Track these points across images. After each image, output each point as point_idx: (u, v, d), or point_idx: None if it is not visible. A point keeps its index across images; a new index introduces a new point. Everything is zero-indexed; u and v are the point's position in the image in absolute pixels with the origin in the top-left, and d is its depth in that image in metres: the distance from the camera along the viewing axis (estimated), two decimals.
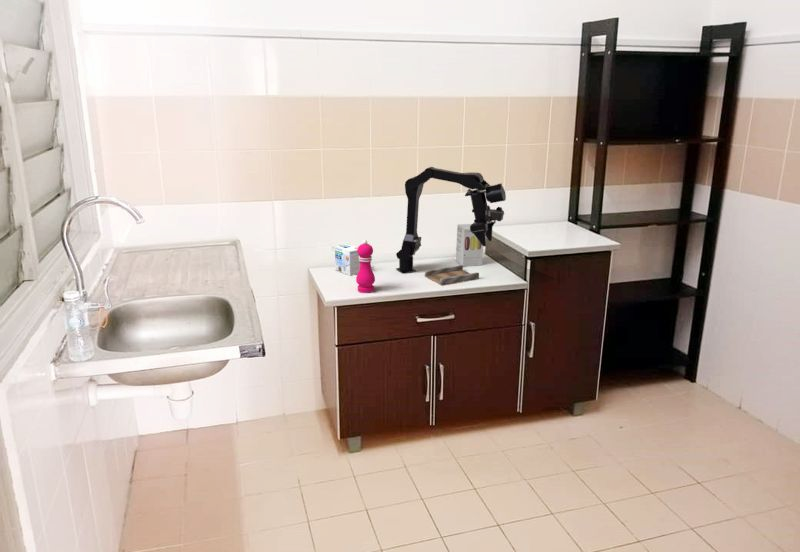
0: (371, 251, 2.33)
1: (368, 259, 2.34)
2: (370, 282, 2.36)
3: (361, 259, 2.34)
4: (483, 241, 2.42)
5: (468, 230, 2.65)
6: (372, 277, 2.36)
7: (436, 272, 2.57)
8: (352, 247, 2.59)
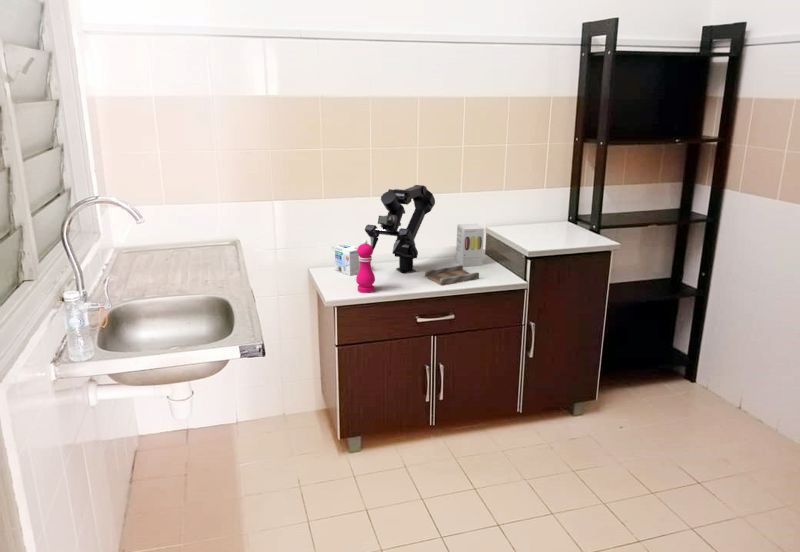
0: (371, 251, 2.33)
1: (368, 259, 2.34)
2: (370, 282, 2.36)
3: (361, 259, 2.34)
4: None
5: (468, 230, 2.65)
6: (372, 277, 2.36)
7: (436, 272, 2.57)
8: (352, 247, 2.59)
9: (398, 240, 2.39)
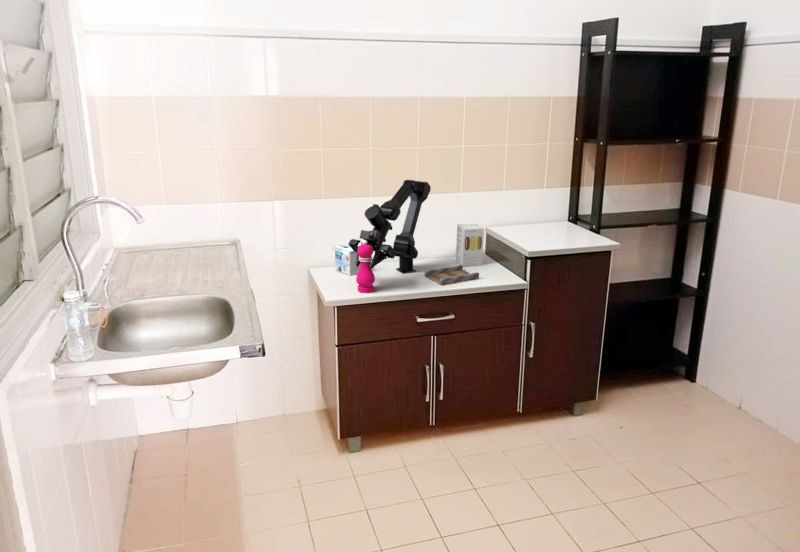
0: (371, 251, 2.33)
1: (368, 259, 2.34)
2: (370, 282, 2.36)
3: (361, 259, 2.34)
4: None
5: (468, 230, 2.65)
6: (373, 277, 2.36)
7: (436, 272, 2.57)
8: None
9: (376, 255, 2.34)
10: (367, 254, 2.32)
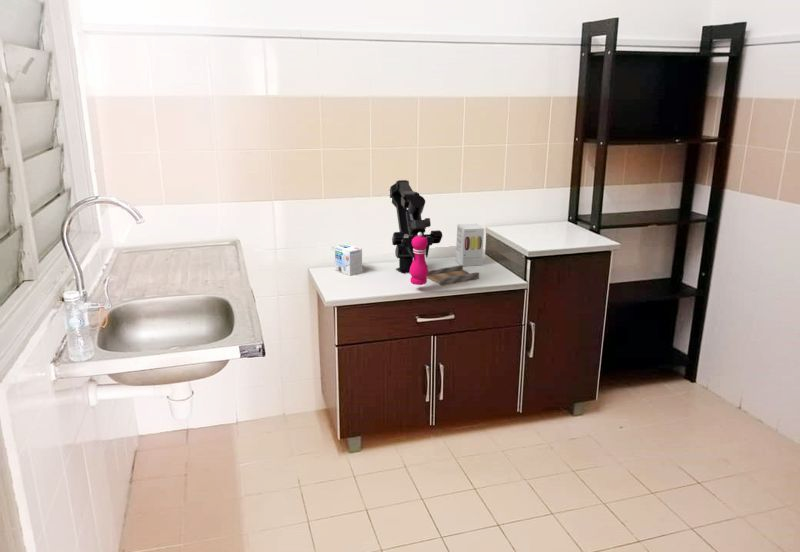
0: None
1: (425, 250, 2.34)
2: None
3: (420, 251, 2.33)
4: (410, 252, 2.35)
5: (468, 230, 2.65)
6: None
7: (436, 272, 2.57)
8: (352, 247, 2.59)
9: (428, 243, 2.36)
10: (426, 245, 2.33)
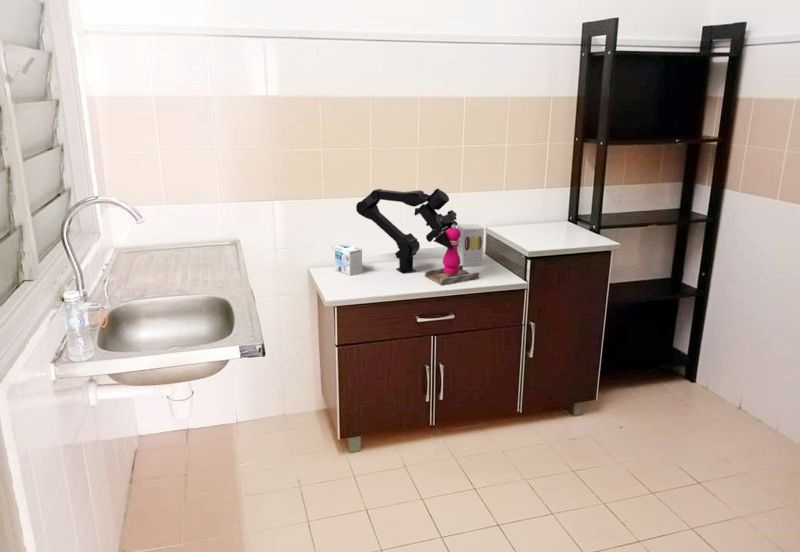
0: None
1: None
2: None
3: (458, 242, 2.48)
4: (448, 244, 2.47)
5: (468, 230, 2.65)
6: None
7: (436, 272, 2.57)
8: (352, 247, 2.59)
9: None
10: None
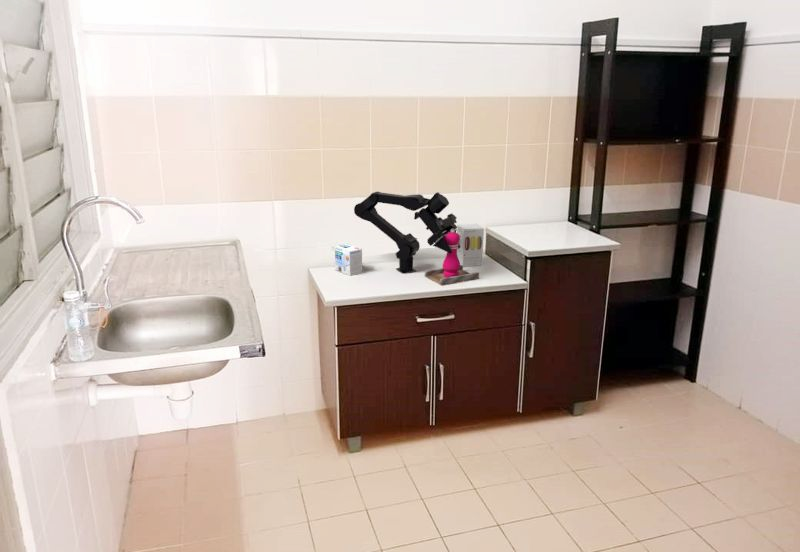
0: None
1: None
2: None
3: (457, 246, 2.50)
4: (447, 249, 2.47)
5: (468, 230, 2.65)
6: None
7: (436, 272, 2.57)
8: (352, 247, 2.59)
9: None
10: None
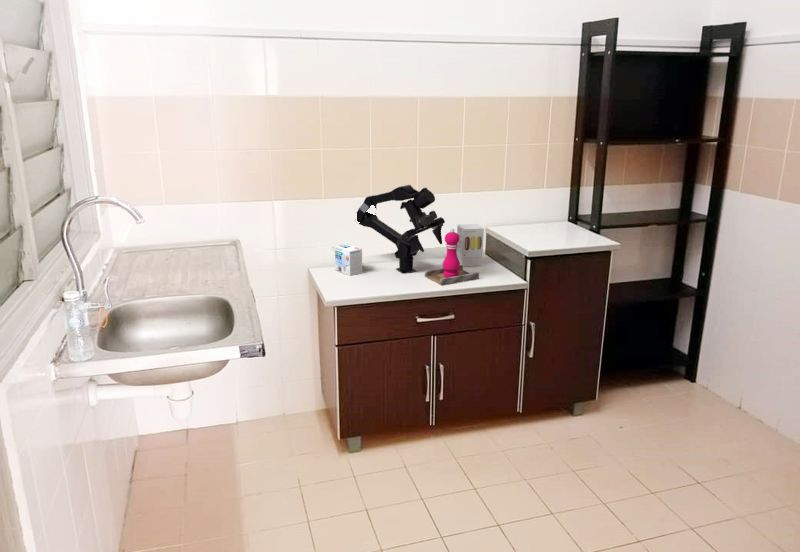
0: None
1: None
2: None
3: (457, 246, 2.50)
4: (419, 247, 2.50)
5: (468, 230, 2.65)
6: None
7: (436, 272, 2.57)
8: (352, 247, 2.59)
9: (439, 230, 2.54)
10: None
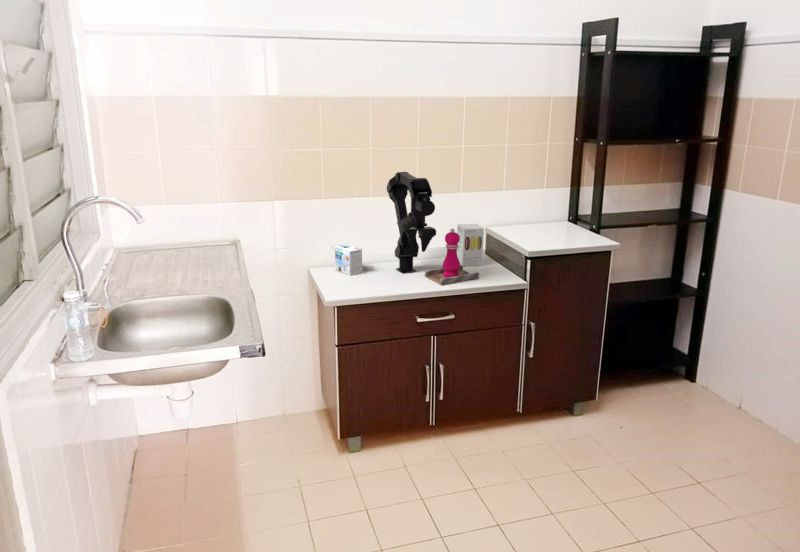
0: None
1: None
2: None
3: (457, 246, 2.50)
4: None
5: (468, 230, 2.65)
6: None
7: (436, 272, 2.57)
8: (352, 247, 2.59)
9: (421, 240, 2.41)
10: None
